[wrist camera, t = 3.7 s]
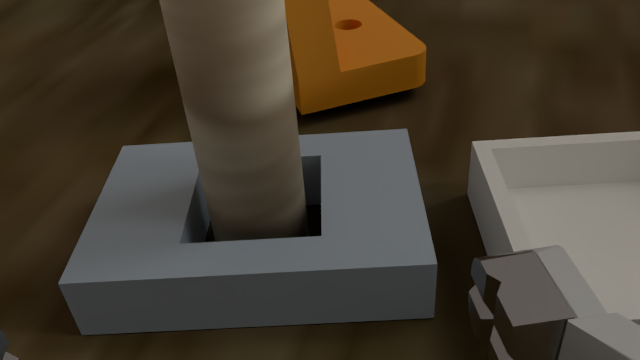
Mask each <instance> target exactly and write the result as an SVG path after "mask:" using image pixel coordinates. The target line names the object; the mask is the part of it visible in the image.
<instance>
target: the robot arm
mask: <svg viewBox="0 0 640 360" xmlns="http://www.w3.org/2000/svg"><path fill="white" fill-rule="evenodd" d="M471 276H472V278H473V280H474V282H475V285H474V286H473V288H472V289H471V290H470V291H469V296H468V309H469V317H470V322H471V326H472V329H473V332H474V335H475V337H476V340H477V342H478V344H480V345H481V346H483V347H484V348H486V349H487V350H488V358H487V360H640V325H638V324H636V323H634V322H633V321H631V320H629V319H627V318H626V317H624V316H622V315H620V314H618V313H607V311H606V310H605V308H604V307H603V305H602V304H601V302H600V301H599V299H598V298H597V296H596V295H595V294H594V292H593V291H592V289H591V288H590V286H589V285H588V283H587V282H586V280H585V279H584V277H583V276H582V274H581V273H580V272H579V270H578V269H577V267H576V266H575V264H574V263H573V261H572V260H571V258H570V257H569V255H568V254H567V252H566V251H565V250H564V248H562V247H561V246H559V245H555V246H548V247H542V248H535V249H530V250H522V251H515V252H509V253H502V254H496V255H490V256H483V257H477V258H474V260H473V262H472V267H471ZM8 343H9V341H8V339H7V338H6V336H5V335H4V333H3V332H2V330H1V329H0V360H20V359H19V358H17V357H15V356H13V355H11V354H9V353H7V352H6V349H7V346H8Z"/></svg>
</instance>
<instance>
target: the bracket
mask: <svg viewBox="0 0 640 360" xmlns="http://www.w3.org/2000/svg"><path fill="white" fill-rule="evenodd" d="M284 3H285V12H286V22H287V31H288V40H289V50H290V59H291V68H292V78H293V87H294V96H295V105H296V107H297V108H298V110H299V111H300V113H301V114H302V115H304V114H309V113H313V112H317V111H321V110H325V109H329V108H334V107H338V106H342V105H346V104H350V103H354V102H359V101H363V100H367V99H371V98H375V97H380V96H384V95H388V94H392V93H396V92H400V91H405V90H409V89H413V88H417V87H419V86H421V85H423V84H424V82H425V71H426V45H425V44H424V43H423V42H421V41H420V40H419V39H418V38H416V37H415V36H414V35H412V34H411V33H410V32H409V31H407V30H406V29H405V28H404V27H402V26H401V25H400V24H398V23H397V22H396V21H395V20H393V19H392V18H391V17H390V16H388V15H387V14H386V13H384V12H383V11H382V10H381V9H379V8H378V7H377V6H375V5H374V4H373V3H372V2H370V1H369V0H284Z"/></svg>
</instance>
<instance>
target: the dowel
mask: <svg viewBox="0 0 640 360" xmlns="http://www.w3.org/2000/svg"><path fill="white" fill-rule="evenodd" d="M159 1H160V5H161V10H162V14H163V18H164V23H165V27H166V31H167V36H168V40H169V44H170V49H171V53H172V57H173V61H174V66H175V70H176V74H177V79H178V83H179V87H180V92H181V96H182V100H183V105H184V109H185V113H186V118H187V122H188V126H189V131H190V135H191V139H192V143H193V148H194V152H195V156H196V161H197V165H198V169H199V174H200V178H201V182H202V187H203V191H204V195H205V200H206V204H207V208H208V212H209V217H210V221H211V225H212V230H213V234H214V238H215V242H220V241H239V240H257V239H275V238H293V237H309V227H308V218H307V209H306V199H305V190H304V181H303V171H302V162H301V153H300V143H299V134H298V124H297V115H296V106H295V96H294V87H293V78H292V68H291V59H290V50H289V40H288V31H287V22H286V12H285V3H284V0H159Z"/></svg>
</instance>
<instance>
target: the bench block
mask: <svg viewBox="0 0 640 360" xmlns="http://www.w3.org/2000/svg"><path fill="white" fill-rule="evenodd" d="M299 143H300V153H301V162H302V171H303V181H304V190H305V199H306V205H321V236H312V237H293V238H275V239H257V240H239V241H220V242H205V241H206V237H207V232H208V227H209V223H210V217H209V212H208V208H207V204H206V200H205V195H204V191H203V187H202V182H201V178H200V174H199V169H198V165H197V161H196V156H195V152H194V148H193V143H192V142H181V143H164V144H148V145H132V146H123V147H122V149H121V152H120V154H119V156H118V158H117V160H116V162H115V164H114V166H113V168H112V171H111V173H110V175H109V177H108V179H107V181H106V183H105V185H104V188H103V190H102V192H101V194H100V196H99V198H98V200H97V202H96V204H95V207H94V209H93V211H92V213H91V215H90V217H89V219H88V221H87V224H86V226H85V228H84V230H83V232H82V234H81V236H80V238H79V241H78V243H77V245H76V247H75V249H74V251H73V253H72V255H71V257H70V260H69V262H68V264H67V266H66V268H65V270H64V272H63V274H62V277H61V279H60V281H59V283H58V285H59V287H60V289H61V292H62V294H63V296H64V298H65V300H66V302H67V304H68V307H69V309H70V311H71V313H72V315H73V317H74V320H75V322H76V324H77V326H78V328H79V330H80V332H81V335H97V334H117V333H137V332H158V331H178V330H198V329H219V328H239V327H260V326H280V325H300V324H321V323H341V322H361V321H382V320H402V319H423V318H434V312H435V296H436V280H437V260H436V255H435V251H434V246H433V242H432V238H431V233H430V229H429V224H428V220H427V215H426V211H425V207H424V202H423V198H422V193H421V189H420V185H419V180H418V176H417V171H416V167H415V162H414V158H413V154H412V149H411V145H410V140H409V136H408V131H407V129H393V130H377V131H360V132H344V133H328V134H311V135H299Z"/></svg>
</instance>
